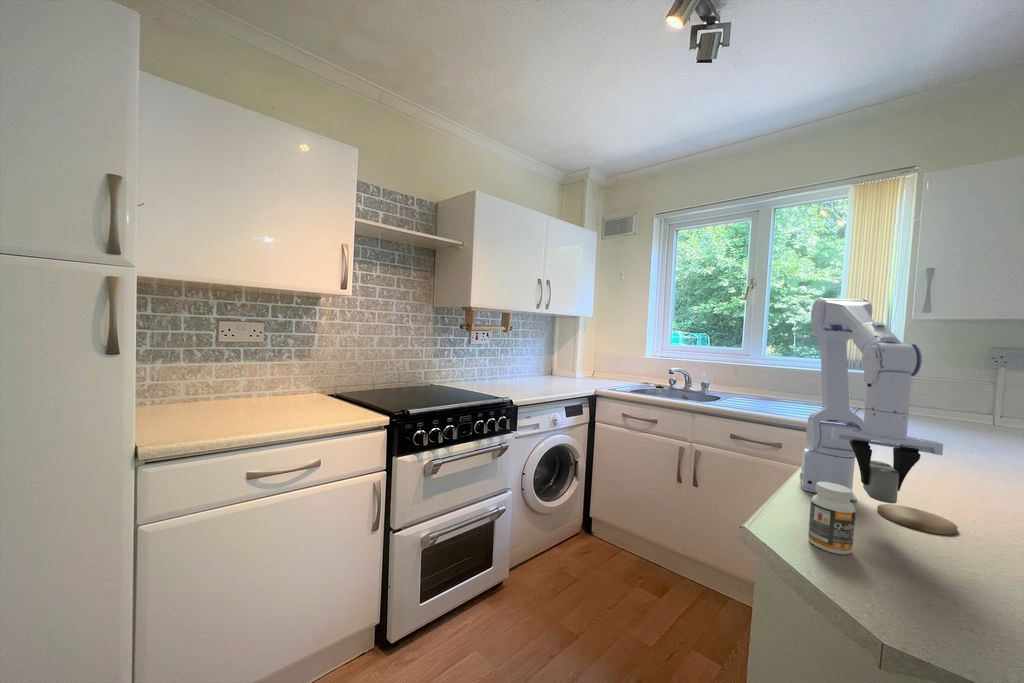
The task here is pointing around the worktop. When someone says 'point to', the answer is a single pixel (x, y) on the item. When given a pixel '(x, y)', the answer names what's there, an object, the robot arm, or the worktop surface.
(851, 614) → the worktop surface
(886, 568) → the worktop surface
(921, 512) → the walnut coaster
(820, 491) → the pill bottle
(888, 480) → the grey connector plug
